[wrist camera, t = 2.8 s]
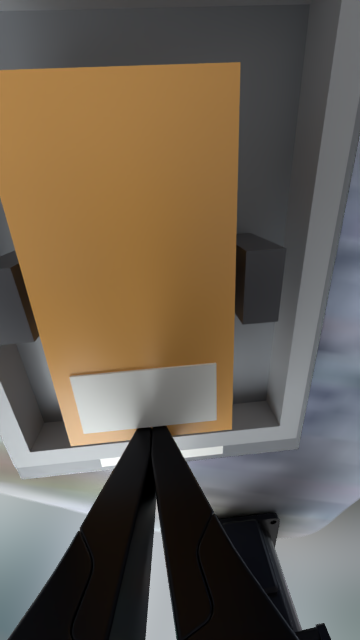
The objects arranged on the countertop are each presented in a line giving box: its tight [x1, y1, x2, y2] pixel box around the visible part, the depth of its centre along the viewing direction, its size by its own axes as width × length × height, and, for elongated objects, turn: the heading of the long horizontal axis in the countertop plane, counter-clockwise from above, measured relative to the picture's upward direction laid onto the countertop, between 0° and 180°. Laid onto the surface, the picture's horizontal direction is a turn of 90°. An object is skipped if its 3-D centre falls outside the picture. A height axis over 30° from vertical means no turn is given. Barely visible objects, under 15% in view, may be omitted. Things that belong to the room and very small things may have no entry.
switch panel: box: [0, 0, 360, 479], centre depth 9 cm, size 20×14×6 cm
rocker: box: [0, 62, 240, 446], centre depth 7 cm, size 9×5×2 cm, turn 3°
